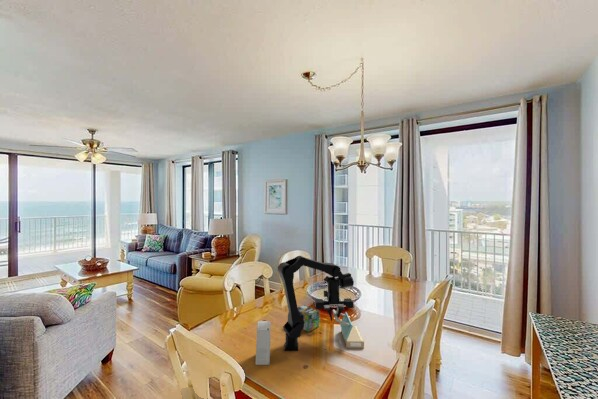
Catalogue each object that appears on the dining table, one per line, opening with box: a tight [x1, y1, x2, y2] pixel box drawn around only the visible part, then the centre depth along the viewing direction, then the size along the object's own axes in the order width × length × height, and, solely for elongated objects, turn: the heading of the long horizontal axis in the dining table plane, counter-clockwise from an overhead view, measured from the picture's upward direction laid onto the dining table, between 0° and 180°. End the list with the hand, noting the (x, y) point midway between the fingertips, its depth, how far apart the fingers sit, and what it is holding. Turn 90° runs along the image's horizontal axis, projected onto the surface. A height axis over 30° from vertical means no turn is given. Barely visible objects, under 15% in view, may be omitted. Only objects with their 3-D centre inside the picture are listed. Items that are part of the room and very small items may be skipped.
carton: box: [340, 325, 365, 349], centre depth 132 cm, size 16×8×3 cm, turn 0°
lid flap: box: [332, 309, 354, 340], centre depth 132 cm, size 15×7×8 cm
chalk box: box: [297, 304, 322, 333], centre depth 144 cm, size 9×9×15 cm
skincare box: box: [254, 320, 272, 366], centre depth 114 cm, size 8×6×15 cm
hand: (334, 320), depth 132 cm, fingers open, 2 cm apart
